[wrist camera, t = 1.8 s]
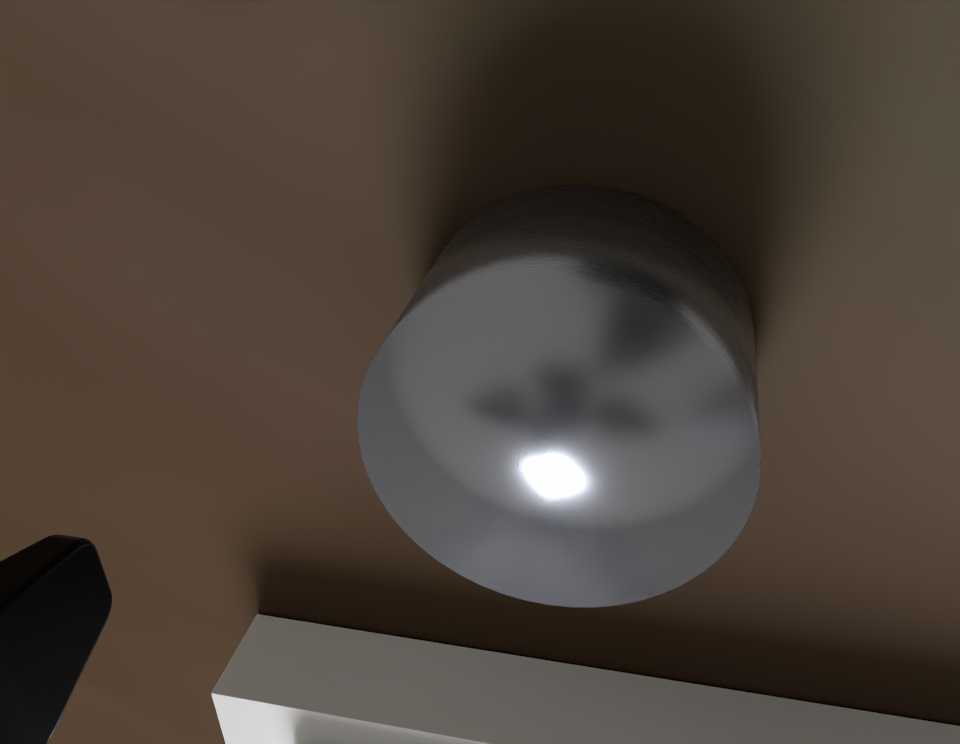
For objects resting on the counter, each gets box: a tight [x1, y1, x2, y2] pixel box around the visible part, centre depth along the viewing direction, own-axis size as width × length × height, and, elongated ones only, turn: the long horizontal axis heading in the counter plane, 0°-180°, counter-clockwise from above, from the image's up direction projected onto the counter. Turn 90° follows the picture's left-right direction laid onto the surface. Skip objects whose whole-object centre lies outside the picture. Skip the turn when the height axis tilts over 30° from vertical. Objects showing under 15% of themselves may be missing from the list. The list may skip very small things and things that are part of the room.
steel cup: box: [357, 185, 761, 607], centre depth 12 cm, size 5×5×3 cm
